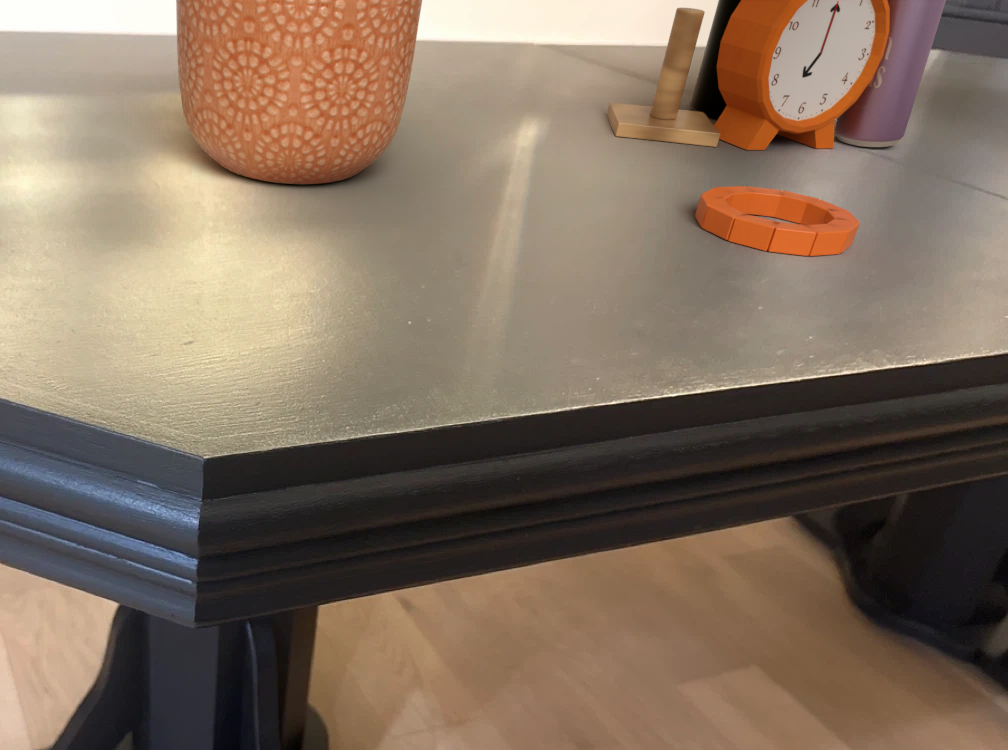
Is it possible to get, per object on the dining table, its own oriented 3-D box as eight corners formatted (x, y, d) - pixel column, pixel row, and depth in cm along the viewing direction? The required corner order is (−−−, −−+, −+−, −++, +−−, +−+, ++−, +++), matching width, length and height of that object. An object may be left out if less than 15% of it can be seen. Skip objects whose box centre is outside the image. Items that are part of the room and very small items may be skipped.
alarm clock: (736, 152, 91) (818, -114, 80) (692, 134, 96) (764, -120, 84) (852, 149, 95) (945, -104, 84) (804, 132, 100) (887, -110, 88)
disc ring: (826, 217, 76) (834, 195, 75) (867, 263, 68) (877, 239, 67) (686, 201, 77) (692, 179, 76) (709, 245, 69) (717, 221, 68)
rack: (700, 124, 100) (733, 7, 94) (716, 147, 92) (753, 21, 86) (606, 115, 100) (633, -2, 95) (615, 136, 93) (645, 11, 87)
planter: (226, 209, 68) (235, -55, 59) (143, 142, 80) (140, -84, 71) (443, 193, 74) (479, -47, 66) (335, 133, 87) (354, -75, 78)
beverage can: (915, 141, 97) (972, -40, 88) (876, 152, 94) (931, -34, 86) (857, 128, 101) (907, -46, 92) (818, 138, 98) (866, -40, 90)
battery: (683, 114, 103) (747, -122, 92) (694, 102, 108) (756, -122, 97) (757, 126, 101) (832, -115, 89) (765, 114, 106) (837, -115, 95)
